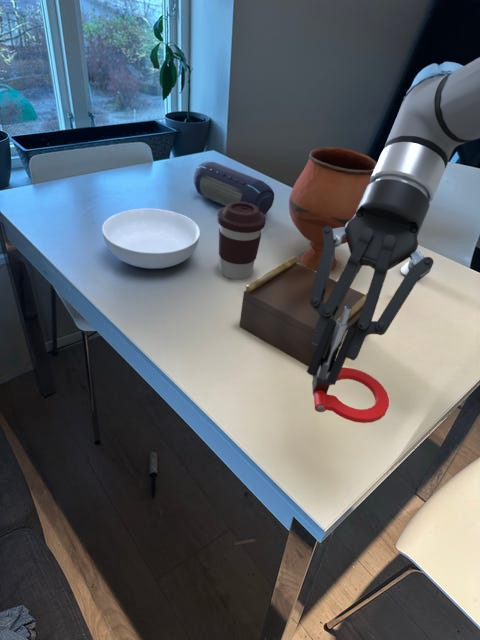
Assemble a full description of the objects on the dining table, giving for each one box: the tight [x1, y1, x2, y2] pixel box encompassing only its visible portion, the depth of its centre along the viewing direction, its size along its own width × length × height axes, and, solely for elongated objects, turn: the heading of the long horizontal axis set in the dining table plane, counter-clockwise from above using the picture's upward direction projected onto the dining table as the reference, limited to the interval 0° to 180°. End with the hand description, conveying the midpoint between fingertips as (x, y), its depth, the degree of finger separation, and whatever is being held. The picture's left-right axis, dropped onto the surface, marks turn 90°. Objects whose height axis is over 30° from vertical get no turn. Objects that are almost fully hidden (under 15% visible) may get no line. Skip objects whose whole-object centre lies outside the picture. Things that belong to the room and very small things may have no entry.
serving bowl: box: [101, 208, 201, 269], centre depth 99 cm, size 21×21×7 cm
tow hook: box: [311, 305, 390, 424], centre depth 51 cm, size 8×13×9 cm
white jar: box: [400, 259, 411, 276], centre depth 106 cm, size 5×3×5 cm
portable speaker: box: [193, 161, 275, 215], centre depth 125 cm, size 25×10×10 cm, turn 50°
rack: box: [239, 256, 367, 368], centre depth 82 cm, size 18×16×10 cm
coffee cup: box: [216, 202, 267, 280], centre depth 95 cm, size 10×10×15 cm
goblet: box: [288, 146, 378, 272], centre depth 99 cm, size 19×19×25 cm
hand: (321, 378), depth 50 cm, fingers closed on tow hook, 2 cm apart
